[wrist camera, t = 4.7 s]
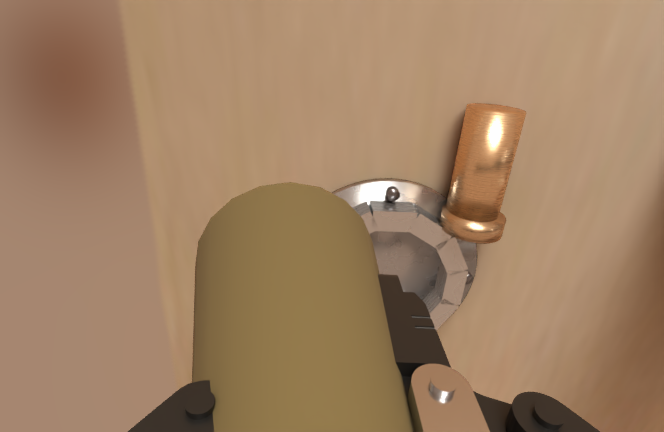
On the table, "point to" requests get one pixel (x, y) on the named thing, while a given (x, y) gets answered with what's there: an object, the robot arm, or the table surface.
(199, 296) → the cork
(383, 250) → the flange seat
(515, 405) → the robot arm
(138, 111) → the table surface
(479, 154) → the pipe stub
